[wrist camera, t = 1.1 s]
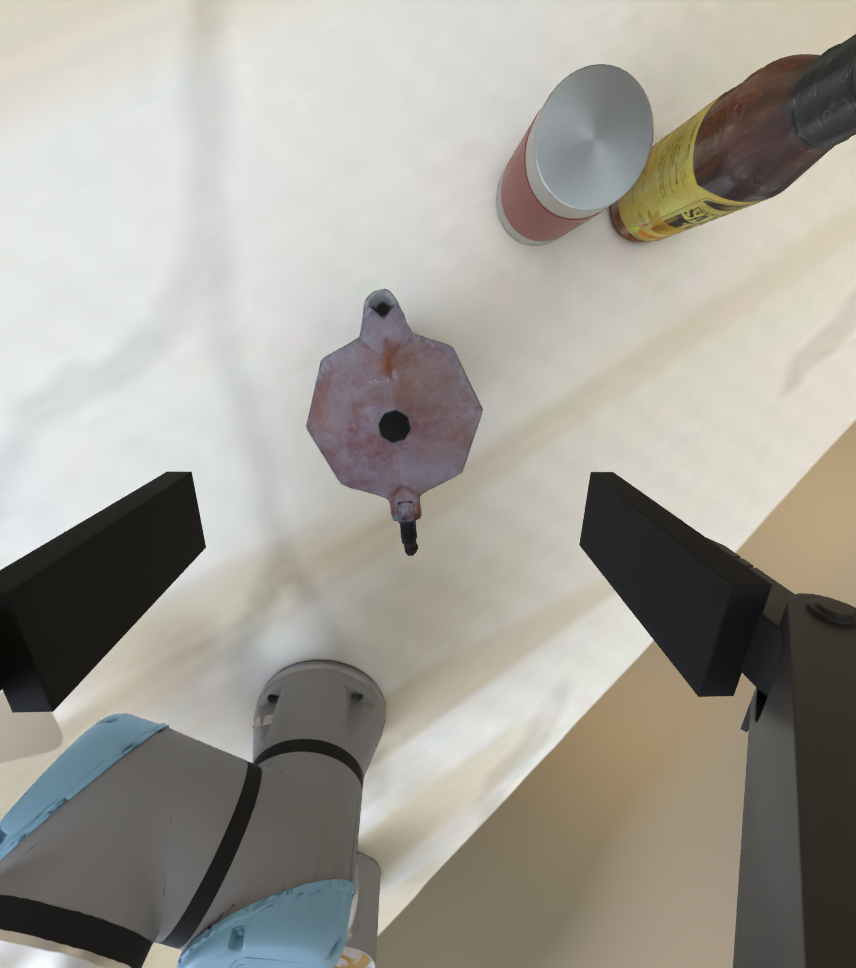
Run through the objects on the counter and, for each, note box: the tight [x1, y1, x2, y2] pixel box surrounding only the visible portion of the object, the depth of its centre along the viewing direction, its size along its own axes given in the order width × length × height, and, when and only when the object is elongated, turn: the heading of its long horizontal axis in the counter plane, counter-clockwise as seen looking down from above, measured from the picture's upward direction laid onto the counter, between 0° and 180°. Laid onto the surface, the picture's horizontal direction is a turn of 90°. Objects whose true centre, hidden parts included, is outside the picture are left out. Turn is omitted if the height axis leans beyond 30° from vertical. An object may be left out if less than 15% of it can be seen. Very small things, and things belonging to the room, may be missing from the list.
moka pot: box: [306, 289, 483, 556], centre depth 30 cm, size 10×15×20 cm, turn 10°
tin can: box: [496, 64, 653, 246], centre depth 29 cm, size 7×7×11 cm
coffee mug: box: [334, 853, 380, 968], centre depth 58 cm, size 13×10×10 cm
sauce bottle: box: [611, 34, 856, 242], centre depth 25 cm, size 6×6×20 cm
